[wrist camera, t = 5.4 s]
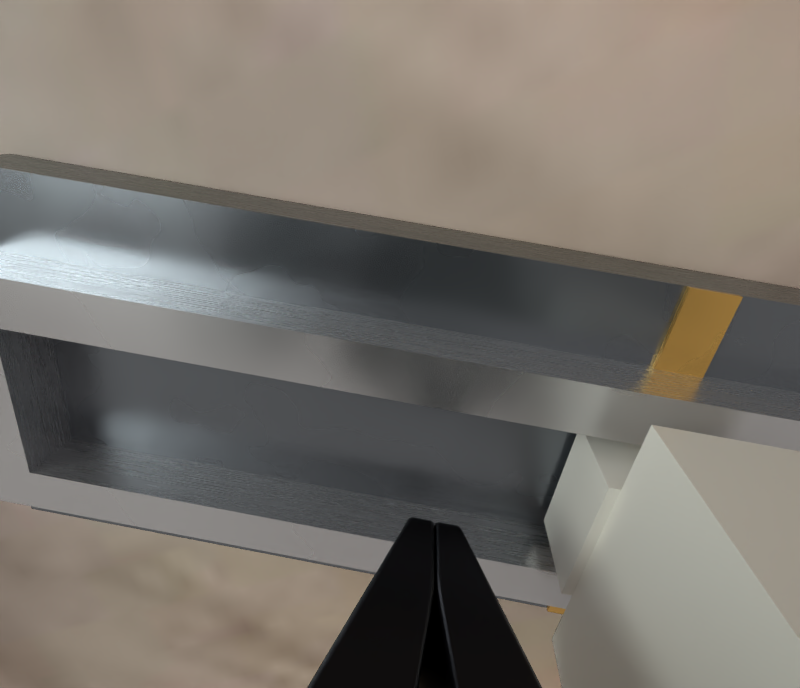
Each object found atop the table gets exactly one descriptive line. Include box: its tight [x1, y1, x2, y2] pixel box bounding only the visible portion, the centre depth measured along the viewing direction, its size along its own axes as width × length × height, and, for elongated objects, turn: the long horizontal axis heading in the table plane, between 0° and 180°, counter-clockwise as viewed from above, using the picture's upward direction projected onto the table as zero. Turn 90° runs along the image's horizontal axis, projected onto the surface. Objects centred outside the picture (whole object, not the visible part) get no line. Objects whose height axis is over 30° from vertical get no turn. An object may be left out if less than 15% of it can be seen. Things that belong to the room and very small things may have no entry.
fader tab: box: [544, 425, 800, 688], centre depth 7 cm, size 3×5×6 cm, turn 171°
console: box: [0, 154, 800, 614], centre depth 10 cm, size 20×9×3 cm, turn 81°
